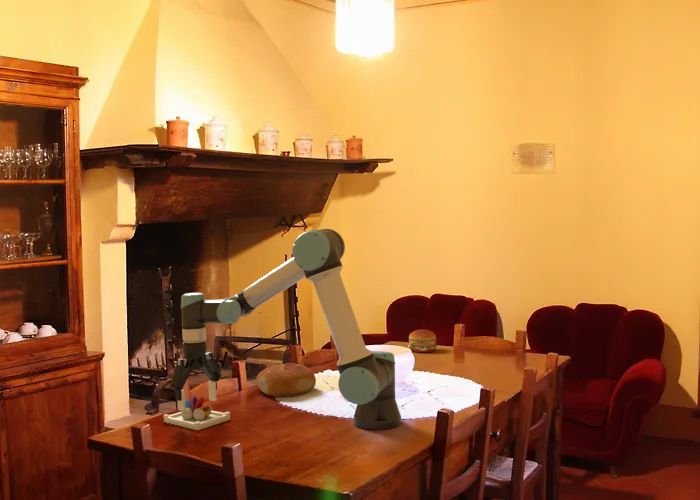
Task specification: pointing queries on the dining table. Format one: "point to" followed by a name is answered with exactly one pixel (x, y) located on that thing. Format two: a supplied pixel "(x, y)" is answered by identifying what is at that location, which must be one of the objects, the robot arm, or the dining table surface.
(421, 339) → the burger
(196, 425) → the white square tray
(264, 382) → the bread
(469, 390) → the dining table surface
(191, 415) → the colourful fan
